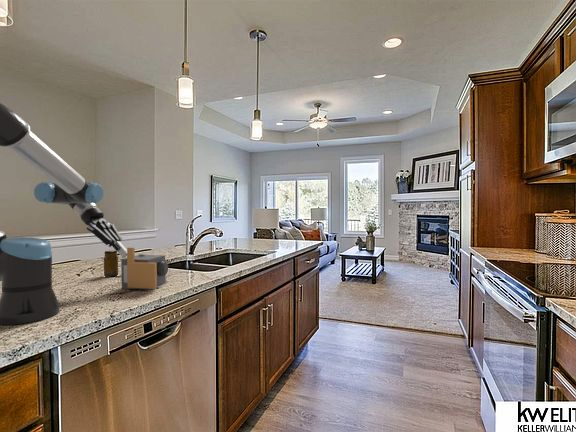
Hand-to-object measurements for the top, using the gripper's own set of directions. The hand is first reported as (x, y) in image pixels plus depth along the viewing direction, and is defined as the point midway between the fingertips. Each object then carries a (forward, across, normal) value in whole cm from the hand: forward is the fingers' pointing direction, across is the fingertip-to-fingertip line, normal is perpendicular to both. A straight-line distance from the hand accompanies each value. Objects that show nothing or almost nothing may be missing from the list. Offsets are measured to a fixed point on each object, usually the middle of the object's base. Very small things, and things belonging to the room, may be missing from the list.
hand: (126, 255), depth 126 cm
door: (+14, 0, -4) cm, 15 cm away
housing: (+12, -6, -7) cm, 15 cm away
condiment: (-6, -22, -26) cm, 35 cm away
